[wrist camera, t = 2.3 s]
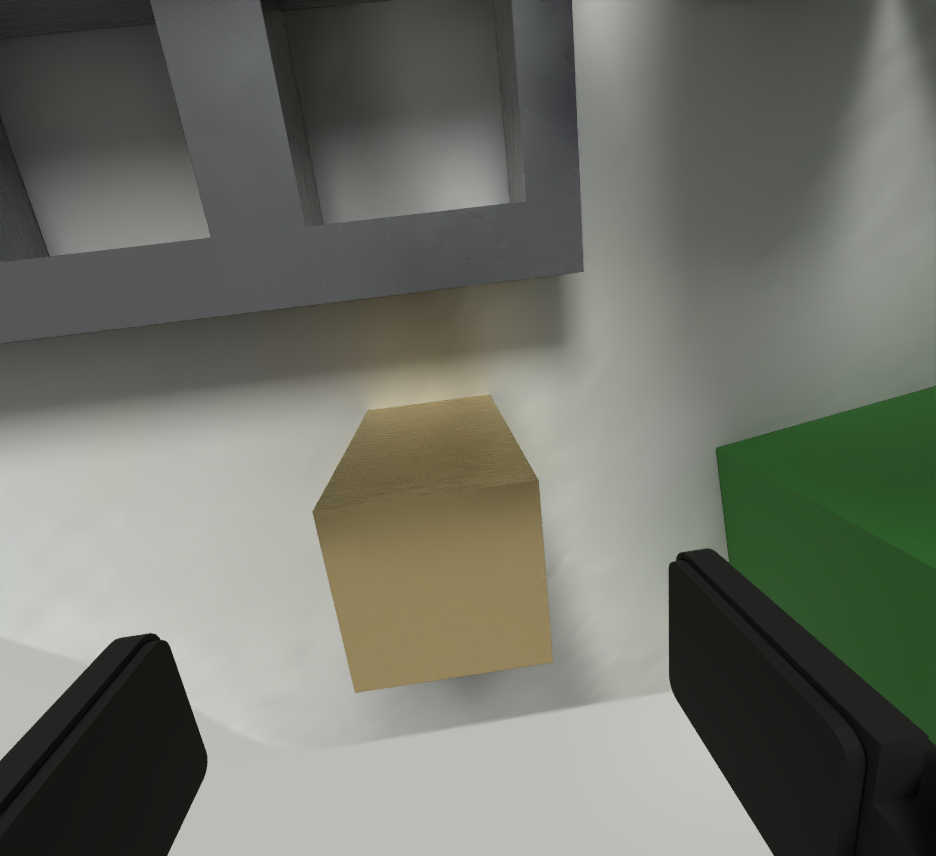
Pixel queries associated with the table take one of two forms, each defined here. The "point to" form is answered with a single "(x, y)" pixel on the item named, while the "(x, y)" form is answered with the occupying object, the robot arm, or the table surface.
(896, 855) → the robot arm
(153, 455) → the table surface
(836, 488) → the hardback book
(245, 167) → the grey slotted rack
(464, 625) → the brass peg
